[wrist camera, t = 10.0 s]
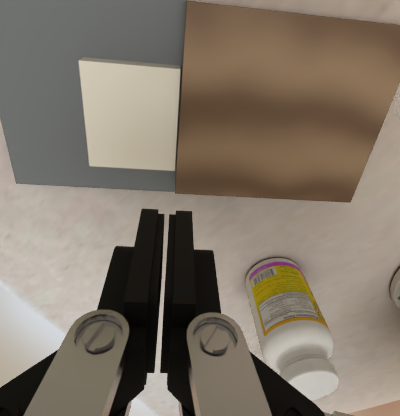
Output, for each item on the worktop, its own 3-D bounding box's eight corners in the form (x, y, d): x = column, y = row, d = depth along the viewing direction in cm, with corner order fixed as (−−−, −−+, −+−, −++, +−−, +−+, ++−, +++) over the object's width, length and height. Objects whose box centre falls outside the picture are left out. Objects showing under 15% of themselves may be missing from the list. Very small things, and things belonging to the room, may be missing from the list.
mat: (174, 189, 30) (174, 191, 30) (18, 180, 29) (16, 183, 28) (187, -17, 22) (187, -18, 21) (-35, -44, 20) (-39, -45, 20)
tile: (174, 163, 28) (174, 170, 27) (93, 158, 28) (89, 166, 26) (180, 65, 24) (180, 69, 23) (83, 57, 23) (78, 60, 22)
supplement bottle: (290, 298, 40) (332, 408, 29) (238, 294, 39) (262, 407, 28) (308, 257, 36) (365, 366, 25) (252, 252, 35) (286, 363, 24)
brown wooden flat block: (338, 188, 31) (350, 202, 29) (175, 179, 30) (175, 193, 28) (400, 25, 24) (422, 27, 22) (186, 0, 22) (187, 0, 20)
